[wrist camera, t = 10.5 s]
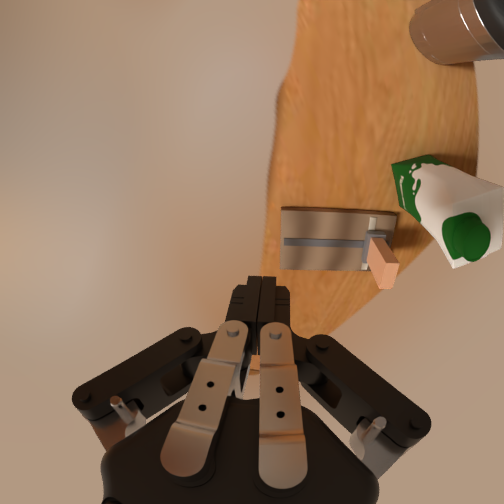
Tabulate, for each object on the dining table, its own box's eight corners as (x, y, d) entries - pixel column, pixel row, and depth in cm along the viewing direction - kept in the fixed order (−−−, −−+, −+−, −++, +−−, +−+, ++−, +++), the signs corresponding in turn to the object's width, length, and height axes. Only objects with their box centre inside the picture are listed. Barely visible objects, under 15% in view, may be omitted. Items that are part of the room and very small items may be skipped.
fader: (361, 259, 41) (375, 291, 34) (366, 230, 39) (383, 259, 31) (378, 259, 41) (394, 291, 34) (383, 231, 39) (403, 260, 31)
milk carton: (384, 159, 35) (458, 207, 18) (432, 147, 33) (520, 186, 15) (395, 212, 39) (457, 287, 21) (440, 198, 36) (514, 260, 19)
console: (279, 264, 46) (279, 269, 44) (281, 206, 41) (281, 210, 39) (382, 266, 44) (385, 271, 42) (393, 212, 39) (397, 216, 37)
